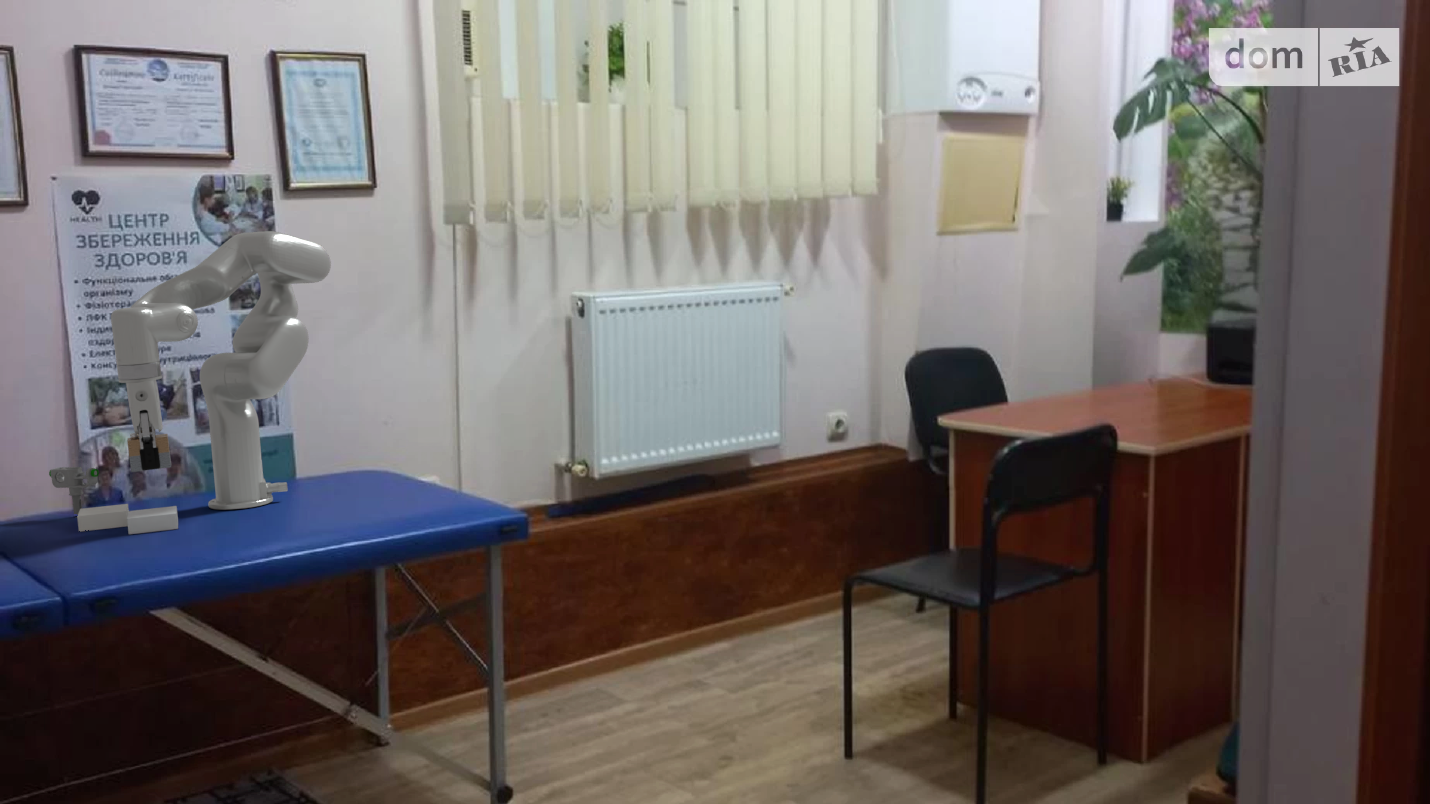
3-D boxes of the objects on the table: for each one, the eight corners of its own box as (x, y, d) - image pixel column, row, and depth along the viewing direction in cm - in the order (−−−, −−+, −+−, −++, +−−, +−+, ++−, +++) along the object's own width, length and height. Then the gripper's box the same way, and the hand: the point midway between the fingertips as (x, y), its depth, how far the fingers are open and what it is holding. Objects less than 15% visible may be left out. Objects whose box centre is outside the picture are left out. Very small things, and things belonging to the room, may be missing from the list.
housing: (171, 464, 249) (166, 428, 248) (171, 467, 246) (166, 431, 245) (131, 468, 247) (127, 432, 246) (131, 472, 243) (126, 435, 242)
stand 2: (178, 520, 252) (176, 505, 252) (178, 528, 244) (176, 513, 244) (130, 526, 249) (128, 511, 249) (128, 534, 241) (127, 518, 241)
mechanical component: (95, 518, 259) (90, 469, 258) (51, 518, 261) (46, 469, 260) (105, 514, 262) (100, 466, 261) (61, 515, 264) (56, 467, 263)
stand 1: (129, 518, 257) (128, 503, 257) (128, 526, 249) (126, 511, 249) (81, 523, 254) (80, 508, 254) (78, 531, 246) (77, 516, 246)
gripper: (160, 374, 237) (172, 471, 240) (161, 366, 252) (172, 458, 255) (116, 379, 234) (128, 477, 237) (119, 370, 250) (131, 463, 252)
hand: (151, 466), depth 246 cm, fingers closed on housing, 4 cm apart
